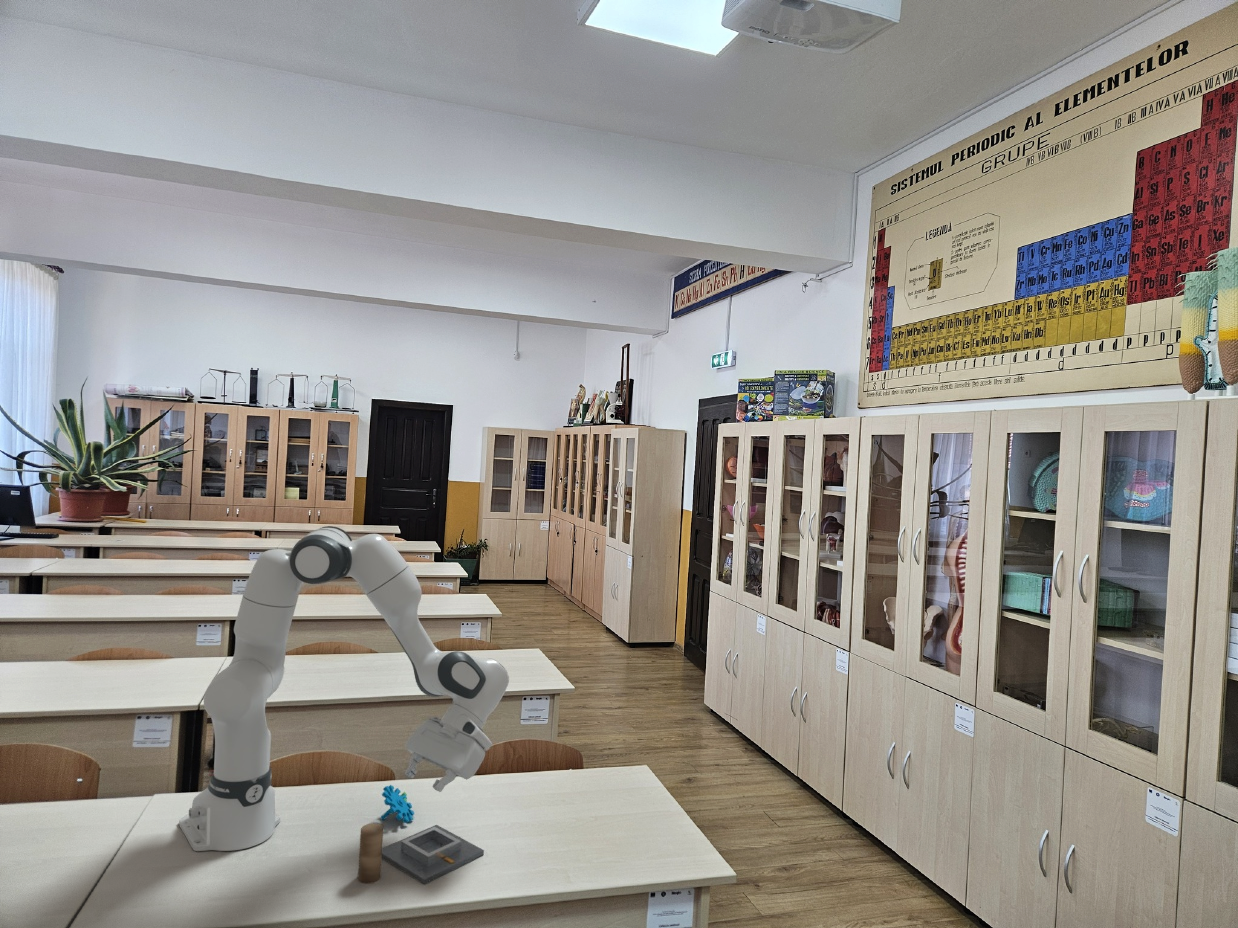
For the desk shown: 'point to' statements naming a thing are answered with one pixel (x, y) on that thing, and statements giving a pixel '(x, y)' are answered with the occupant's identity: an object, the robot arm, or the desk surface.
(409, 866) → the square frame on plate
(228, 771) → the robot arm
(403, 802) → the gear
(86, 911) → the desk surface
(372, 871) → the pin
